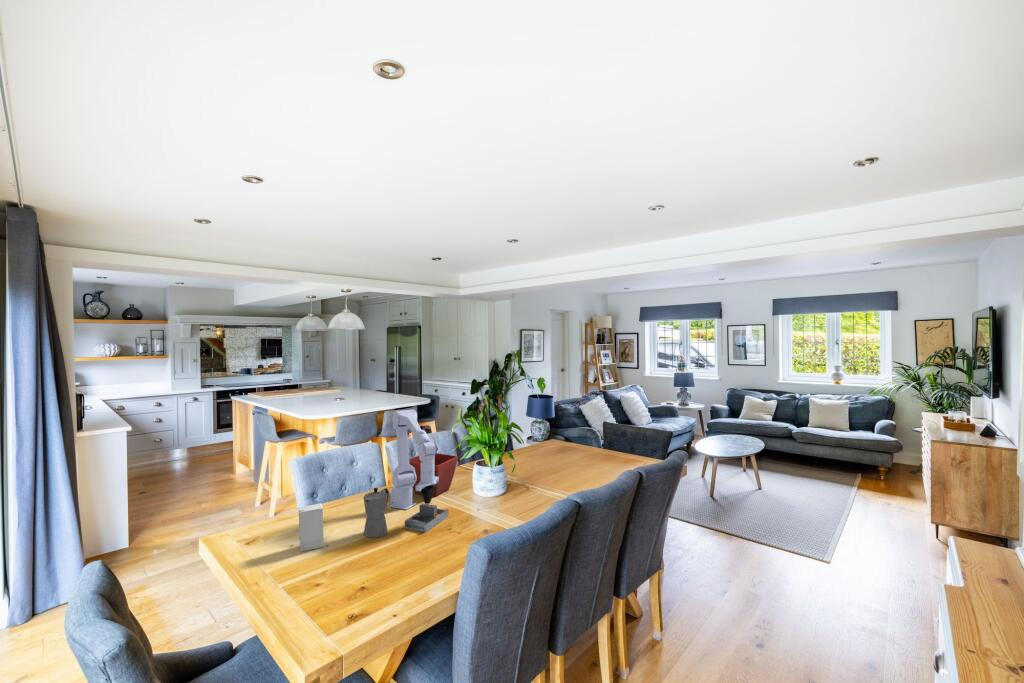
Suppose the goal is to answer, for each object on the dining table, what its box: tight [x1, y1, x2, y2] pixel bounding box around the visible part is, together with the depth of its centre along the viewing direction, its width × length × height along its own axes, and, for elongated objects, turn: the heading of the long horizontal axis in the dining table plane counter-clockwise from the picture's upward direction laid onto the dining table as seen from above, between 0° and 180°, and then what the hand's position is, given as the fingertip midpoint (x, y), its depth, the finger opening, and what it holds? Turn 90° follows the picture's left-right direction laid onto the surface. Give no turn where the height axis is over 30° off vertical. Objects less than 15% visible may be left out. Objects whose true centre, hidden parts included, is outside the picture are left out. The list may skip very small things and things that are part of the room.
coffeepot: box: [363, 487, 390, 539], centre depth 183 cm, size 15×9×18 cm, turn 162°
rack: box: [404, 508, 450, 534], centre depth 193 cm, size 10×18×4 cm, turn 158°
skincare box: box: [298, 503, 325, 552], centre depth 170 cm, size 8×6×15 cm
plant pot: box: [409, 452, 458, 498], centre depth 232 cm, size 19×19×17 cm
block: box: [418, 502, 438, 518], centre depth 193 cm, size 7×2×6 cm, turn 68°
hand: (427, 503), depth 193 cm, fingers closed
